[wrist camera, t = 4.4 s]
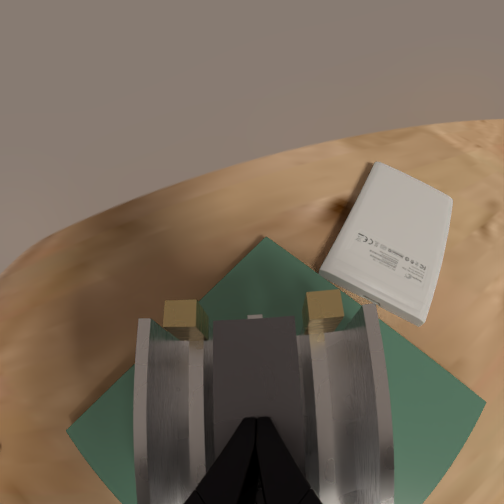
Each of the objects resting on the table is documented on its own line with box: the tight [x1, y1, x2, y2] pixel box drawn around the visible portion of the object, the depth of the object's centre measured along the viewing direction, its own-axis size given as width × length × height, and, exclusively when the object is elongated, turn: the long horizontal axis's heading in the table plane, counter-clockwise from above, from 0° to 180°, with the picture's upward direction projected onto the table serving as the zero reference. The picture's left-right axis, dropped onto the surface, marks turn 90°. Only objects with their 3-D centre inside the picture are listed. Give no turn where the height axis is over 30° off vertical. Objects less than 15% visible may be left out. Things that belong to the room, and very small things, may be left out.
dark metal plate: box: [213, 316, 306, 504], centre depth 8 cm, size 11×3×1 cm, turn 2°
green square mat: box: [66, 237, 486, 504], centre depth 13 cm, size 20×20×1 cm
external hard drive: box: [318, 162, 453, 327], centre depth 20 cm, size 2×8×12 cm
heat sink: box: [133, 289, 394, 504], centre depth 10 cm, size 12×12×8 cm
